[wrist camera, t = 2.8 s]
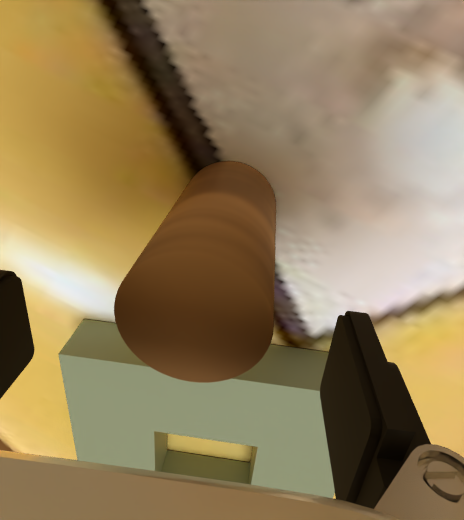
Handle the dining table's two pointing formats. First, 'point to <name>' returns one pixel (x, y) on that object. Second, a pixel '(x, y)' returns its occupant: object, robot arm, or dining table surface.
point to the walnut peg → (205, 280)
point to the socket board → (198, 413)
